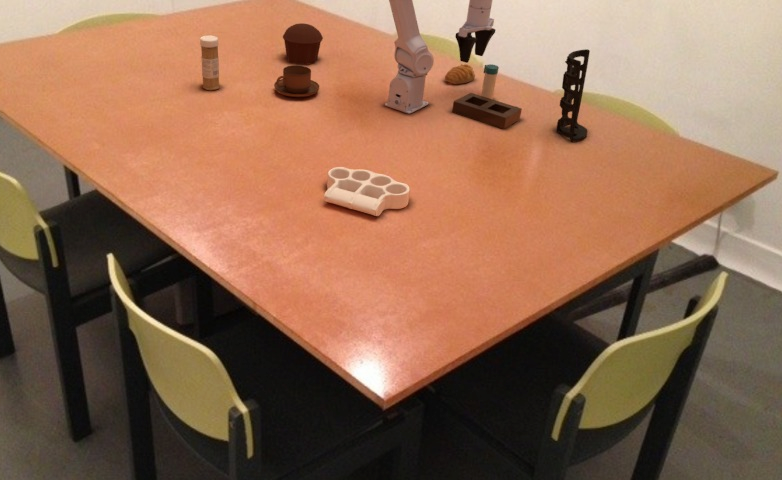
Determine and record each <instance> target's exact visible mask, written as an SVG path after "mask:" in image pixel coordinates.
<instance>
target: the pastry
mask: <svg viewBox="0 0 782 480" xmlns="http://www.w3.org/2000/svg"><path fill="white" fill-rule="evenodd" d="M475 78H476V74H475V71H474V69H473V67H472V66H471V65H469V64H468V63H465V64H460V65H457V66H454V67H452V68H450V69H449V70H448V72H446V74H445V76H444V80H445V82H448V83H450V84H453V85H460V84H461V85H463V84H467V83H469V82H473V80H474V79H475Z"/></svg>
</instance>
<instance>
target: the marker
mask: <svg viewBox="0 0 782 480" xmlns="http://www.w3.org/2000/svg"><path fill="white" fill-rule="evenodd" d="M499 69H500V67H499V66H498V65H496V64H484V68H483V74H484V76H483V83H482V89H481V93H480V94H481V95H480V96H483V97H486V98H489V99H493V100H494V94H495V88H496V83H497V76H498V73H499Z"/></svg>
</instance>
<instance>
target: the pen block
mask: <svg viewBox="0 0 782 480" xmlns="http://www.w3.org/2000/svg"><path fill="white" fill-rule="evenodd" d="M452 103H453V105H452V111H451V113H454V114H456V115H457V114H458V115H461V116H463V117H466V118H469V119H471V120H475V121H478V122H481V123H484V124H487V125H490V126H493V127H495V128H500V129H502V130H505V129H507V128H508V127H510V126H512V125H513V124H515V123H516V122H518V121H520V120H521V115H522V110H523V108H521V107H518V106H515V105H511V104H508V103H505V102H502V101H499V100H496V99H494V98H493V99H489V98H486V97H483V96H481V95H480V94H476V93H473V92H468V93H467V94H464V95H463V96H461V97H459V98H457V99H455V100H454V101H453V102H452Z"/></svg>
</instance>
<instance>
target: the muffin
mask: <svg viewBox="0 0 782 480" xmlns="http://www.w3.org/2000/svg"><path fill="white" fill-rule="evenodd" d="M282 39H283V40H284V47H285V54H286V60H288V62H289V63H293V64H295V65H310V64H314V63H315V62H317V61H318V57H319V52H320V48H321V43H322V41H323V39H324V36H323V35H322V33H321V32H320V30H319V29H317V27H315V26H313V25H312V24H309V23H303V22H302V23H301V22H300V23H295V24H293V25H291V26H289V27H288V28H286V29H285V31H284V33H283V35H282Z"/></svg>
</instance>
